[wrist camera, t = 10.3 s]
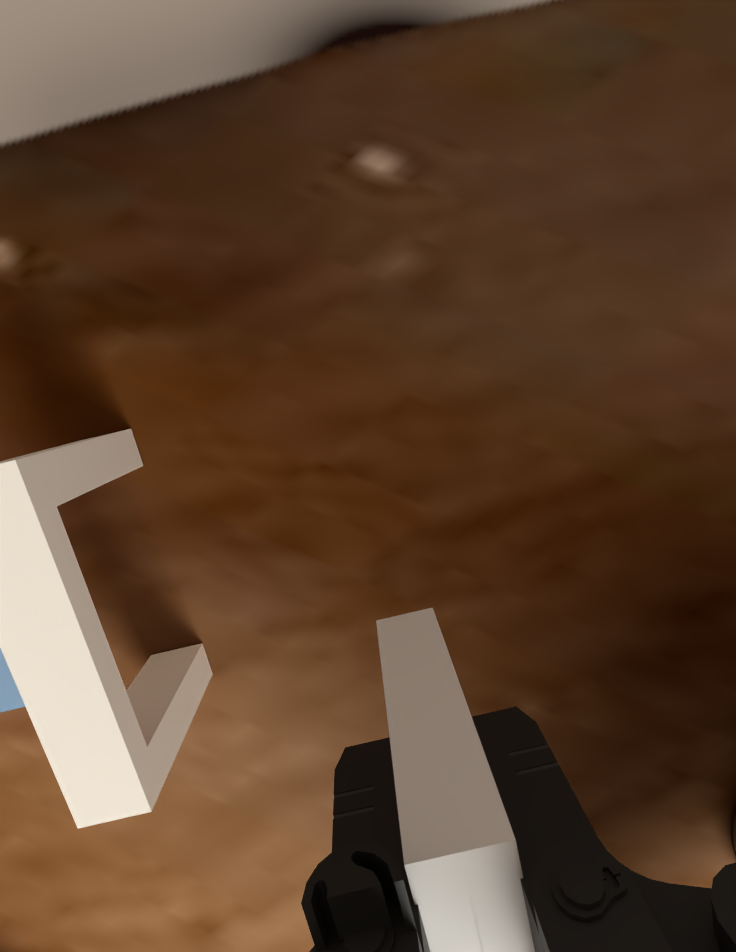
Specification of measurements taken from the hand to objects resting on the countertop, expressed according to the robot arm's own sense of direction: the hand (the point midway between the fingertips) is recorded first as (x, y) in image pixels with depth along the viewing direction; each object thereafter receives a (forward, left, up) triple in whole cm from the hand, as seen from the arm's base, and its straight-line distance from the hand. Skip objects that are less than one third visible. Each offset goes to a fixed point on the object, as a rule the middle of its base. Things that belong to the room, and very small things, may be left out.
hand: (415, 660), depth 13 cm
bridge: (+13, 0, -14) cm, 19 cm away
